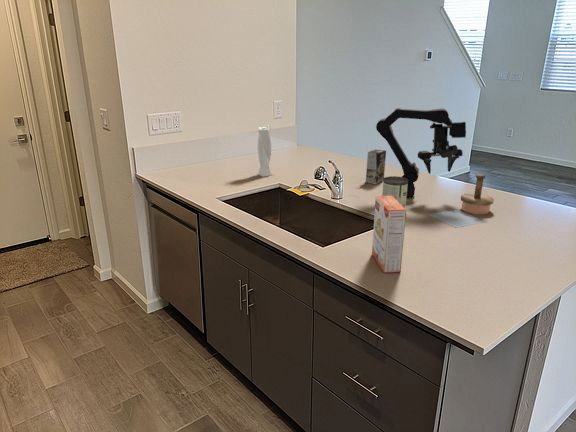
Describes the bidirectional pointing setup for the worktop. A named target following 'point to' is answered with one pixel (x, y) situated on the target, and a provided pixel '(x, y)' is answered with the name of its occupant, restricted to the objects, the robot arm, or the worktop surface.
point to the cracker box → (388, 233)
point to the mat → (457, 218)
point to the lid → (477, 194)
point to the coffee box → (375, 166)
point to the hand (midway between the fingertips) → (439, 172)
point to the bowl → (475, 208)
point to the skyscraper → (264, 151)
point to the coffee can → (396, 188)
